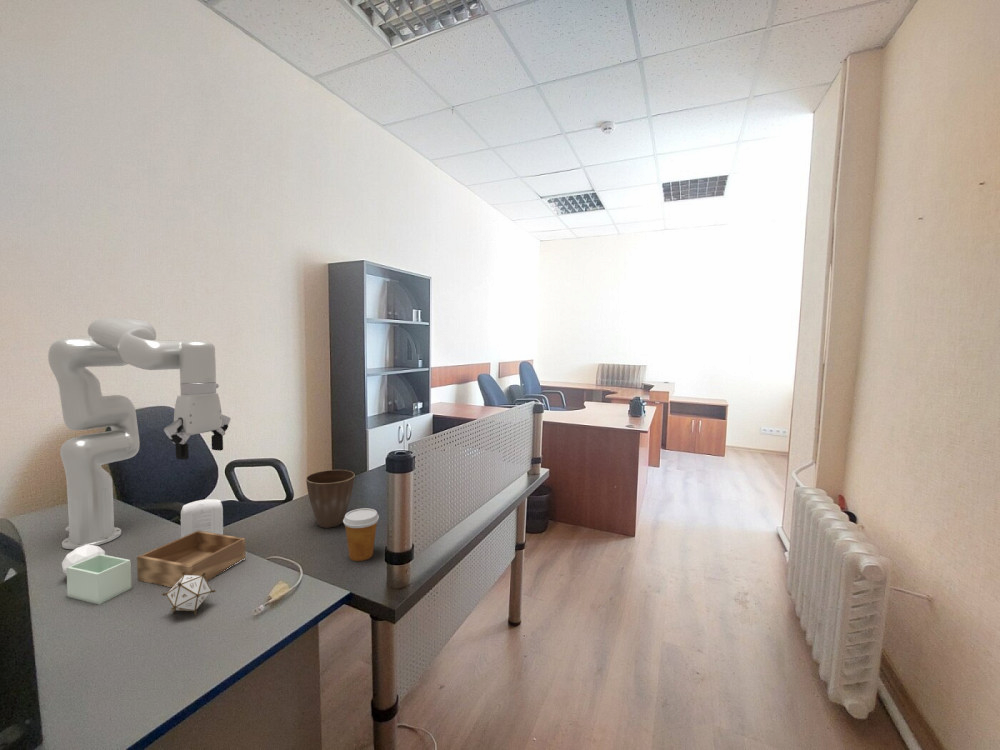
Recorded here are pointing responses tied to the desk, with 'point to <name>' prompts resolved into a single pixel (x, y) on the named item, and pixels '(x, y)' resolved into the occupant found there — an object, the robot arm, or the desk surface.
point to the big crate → (190, 558)
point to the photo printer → (202, 517)
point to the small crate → (99, 578)
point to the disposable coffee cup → (361, 532)
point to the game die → (189, 592)
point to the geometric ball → (81, 555)
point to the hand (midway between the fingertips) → (200, 454)
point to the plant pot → (330, 495)
